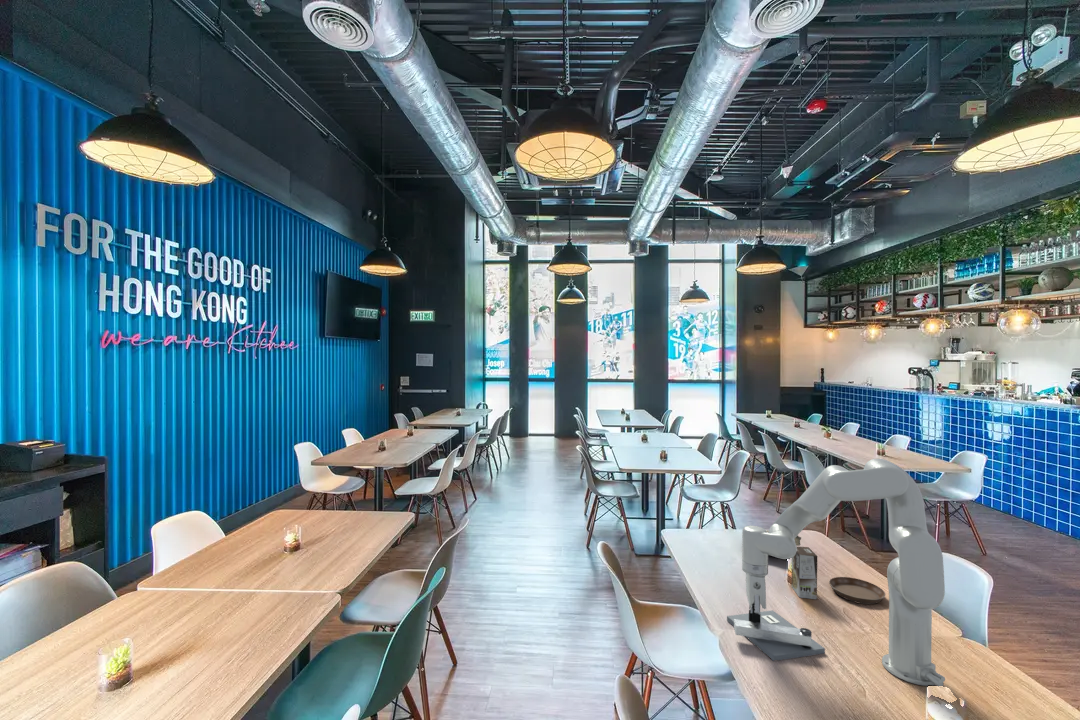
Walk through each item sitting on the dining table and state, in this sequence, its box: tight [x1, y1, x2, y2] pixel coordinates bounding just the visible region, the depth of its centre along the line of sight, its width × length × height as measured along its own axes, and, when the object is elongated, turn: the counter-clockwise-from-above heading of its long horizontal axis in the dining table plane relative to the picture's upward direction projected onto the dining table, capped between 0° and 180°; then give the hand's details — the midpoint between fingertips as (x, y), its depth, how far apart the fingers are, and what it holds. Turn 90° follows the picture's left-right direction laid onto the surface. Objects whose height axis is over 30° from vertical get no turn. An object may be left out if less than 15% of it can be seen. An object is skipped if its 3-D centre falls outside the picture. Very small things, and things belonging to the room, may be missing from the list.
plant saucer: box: [828, 576, 886, 605], centre depth 177 cm, size 18×18×3 cm
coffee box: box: [791, 546, 819, 600], centre depth 178 cm, size 9×6×16 cm
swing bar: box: [733, 619, 813, 648], centre depth 143 cm, size 22×4×4 cm, turn 75°
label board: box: [726, 609, 826, 662], centre depth 149 cm, size 22×18×2 cm
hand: (754, 624), depth 148 cm, fingers closed
